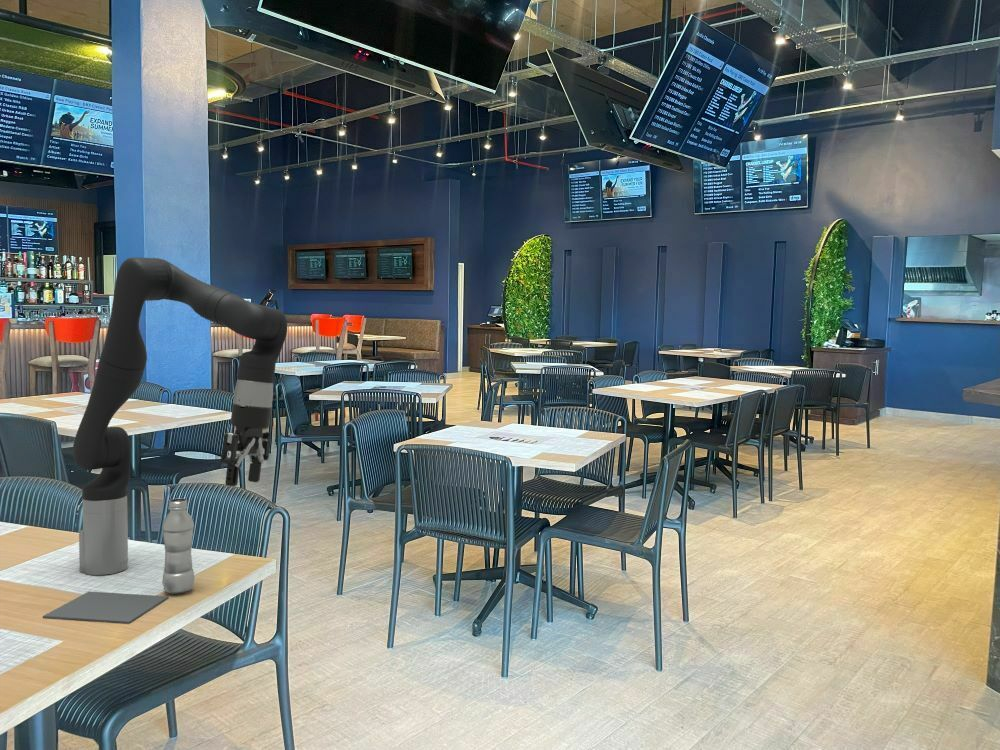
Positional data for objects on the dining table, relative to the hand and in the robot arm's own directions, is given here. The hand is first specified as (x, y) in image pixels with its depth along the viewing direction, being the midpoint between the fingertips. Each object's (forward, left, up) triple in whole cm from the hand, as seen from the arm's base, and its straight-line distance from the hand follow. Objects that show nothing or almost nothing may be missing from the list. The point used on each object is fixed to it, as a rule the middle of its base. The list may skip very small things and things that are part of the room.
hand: (242, 483), depth 156 cm
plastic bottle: (-18, +7, -26) cm, 32 cm away
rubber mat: (-27, -4, -26) cm, 37 cm away
